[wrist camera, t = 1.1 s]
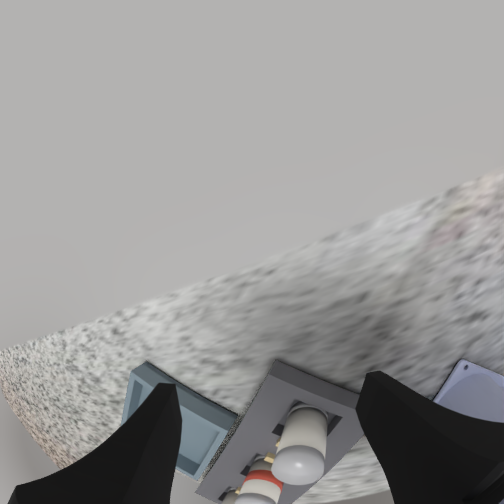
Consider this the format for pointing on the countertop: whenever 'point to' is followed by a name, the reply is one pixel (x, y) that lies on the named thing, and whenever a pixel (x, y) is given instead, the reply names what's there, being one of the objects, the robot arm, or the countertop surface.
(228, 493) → the fuse
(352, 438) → the fuse holder
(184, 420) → the tray
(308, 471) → the fuse
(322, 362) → the countertop surface
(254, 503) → the marked fuse
